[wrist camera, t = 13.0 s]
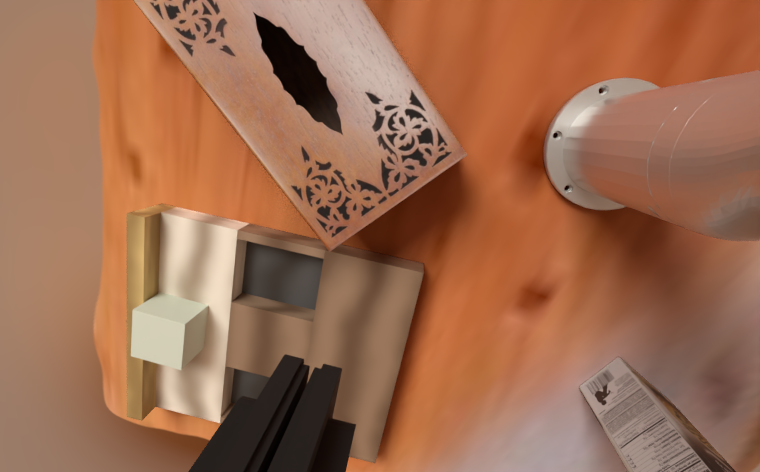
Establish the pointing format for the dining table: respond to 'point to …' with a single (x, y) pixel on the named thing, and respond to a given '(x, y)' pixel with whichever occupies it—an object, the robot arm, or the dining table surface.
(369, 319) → the box
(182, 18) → the tissue box cover
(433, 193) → the dining table surface
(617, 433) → the coffee box
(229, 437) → the robot arm
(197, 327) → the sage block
